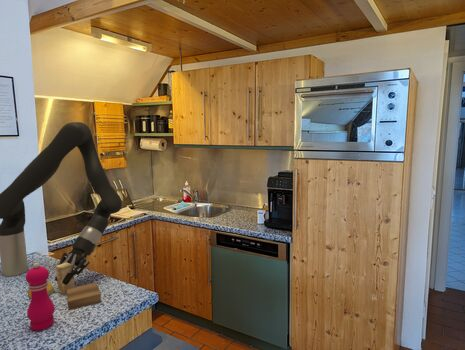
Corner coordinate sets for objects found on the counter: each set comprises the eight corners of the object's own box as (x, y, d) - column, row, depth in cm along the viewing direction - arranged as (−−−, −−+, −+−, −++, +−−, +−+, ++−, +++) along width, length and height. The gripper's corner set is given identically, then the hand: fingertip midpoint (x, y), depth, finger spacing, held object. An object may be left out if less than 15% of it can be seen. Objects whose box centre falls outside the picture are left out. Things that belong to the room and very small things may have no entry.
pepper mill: (36, 318, 105) (29, 258, 102) (59, 317, 105) (54, 257, 102) (23, 332, 97) (16, 268, 95) (49, 331, 98) (42, 266, 95)
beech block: (58, 292, 122) (55, 266, 120) (68, 287, 125) (66, 262, 124) (64, 294, 120) (62, 268, 118) (74, 290, 123) (72, 264, 122)
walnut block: (67, 296, 118) (66, 289, 118) (97, 290, 123) (96, 282, 122) (68, 310, 109) (68, 301, 109) (101, 302, 114) (100, 293, 114)
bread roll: (31, 302, 115) (30, 291, 114) (26, 293, 122) (25, 282, 121) (57, 294, 120) (56, 284, 120) (51, 285, 127) (50, 276, 126)
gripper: (69, 233, 130) (41, 274, 121) (92, 238, 122) (64, 283, 114) (82, 242, 135) (56, 282, 126) (105, 248, 128) (79, 290, 119)
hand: (60, 282), depth 120 cm, fingers closed on beech block, 4 cm apart
